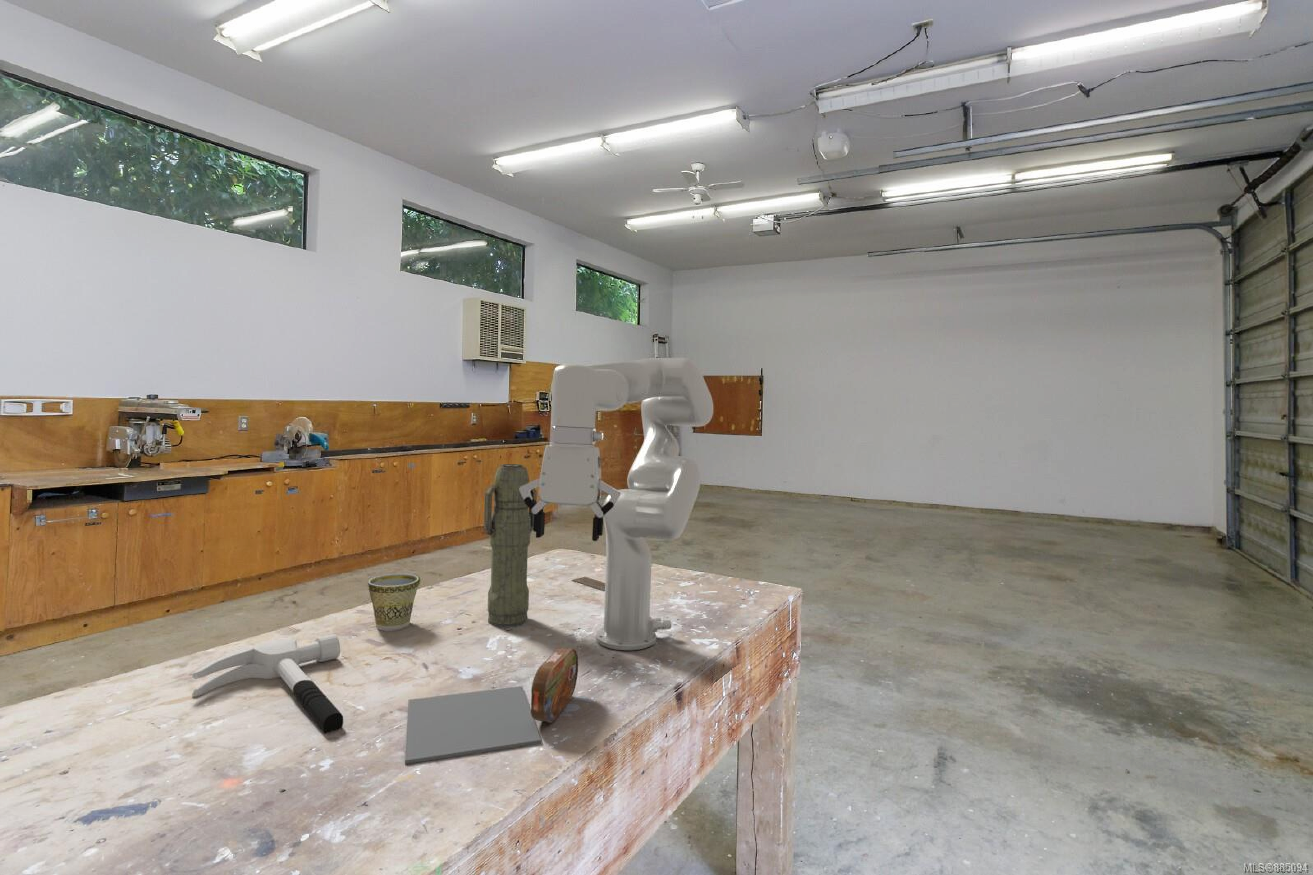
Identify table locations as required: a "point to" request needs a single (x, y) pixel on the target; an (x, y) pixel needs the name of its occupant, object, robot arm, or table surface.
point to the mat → (468, 724)
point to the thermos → (508, 546)
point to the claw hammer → (280, 672)
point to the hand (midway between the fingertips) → (567, 538)
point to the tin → (554, 685)
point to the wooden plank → (590, 583)
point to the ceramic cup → (393, 599)
